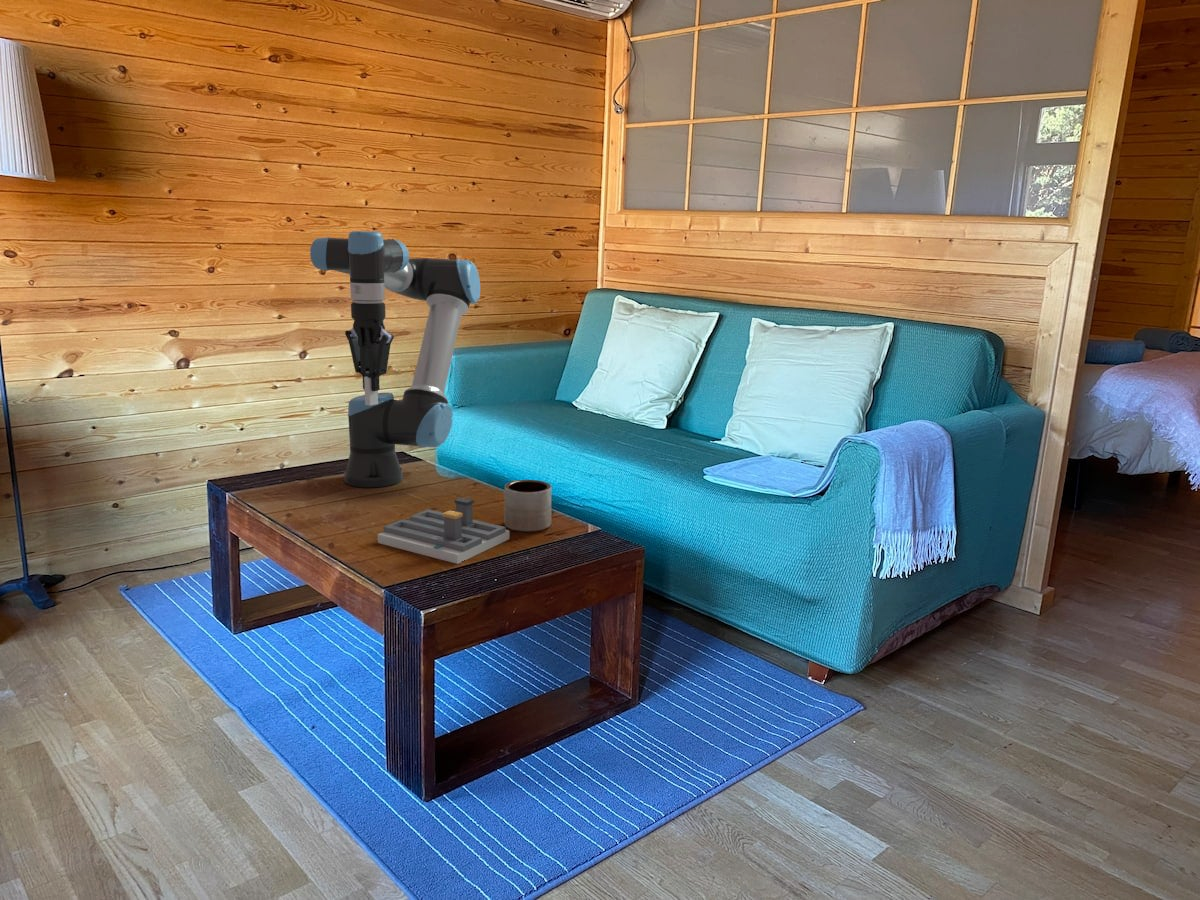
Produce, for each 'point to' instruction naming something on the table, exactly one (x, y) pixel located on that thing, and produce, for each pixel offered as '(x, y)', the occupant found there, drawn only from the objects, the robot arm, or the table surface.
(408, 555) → the table surface
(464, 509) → the fader
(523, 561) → the table surface
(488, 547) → the console
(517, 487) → the planter
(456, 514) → the fader
